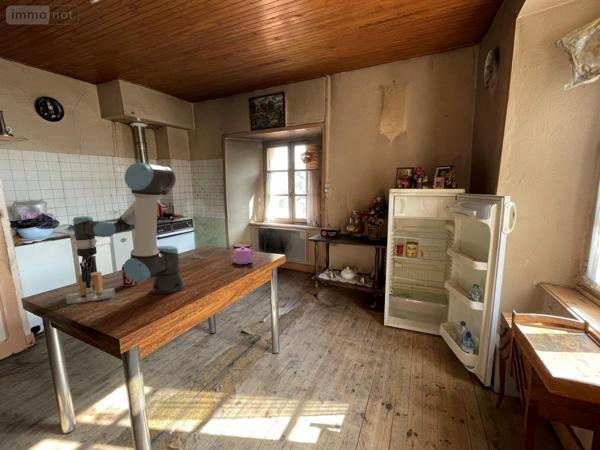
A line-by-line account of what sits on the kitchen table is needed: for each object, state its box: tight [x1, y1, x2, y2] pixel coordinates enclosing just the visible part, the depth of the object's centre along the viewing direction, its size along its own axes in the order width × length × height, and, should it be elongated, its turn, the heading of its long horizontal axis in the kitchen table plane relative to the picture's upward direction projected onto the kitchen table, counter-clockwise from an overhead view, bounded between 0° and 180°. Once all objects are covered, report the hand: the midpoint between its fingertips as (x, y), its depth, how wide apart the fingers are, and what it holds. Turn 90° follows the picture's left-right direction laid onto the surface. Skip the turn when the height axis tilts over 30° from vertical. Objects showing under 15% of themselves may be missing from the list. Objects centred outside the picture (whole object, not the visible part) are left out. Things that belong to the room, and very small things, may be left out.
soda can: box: [121, 263, 139, 287], centre depth 142 cm, size 7×7×12 cm
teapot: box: [232, 246, 255, 265], centre depth 182 cm, size 20×13×12 cm, turn 55°
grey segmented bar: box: [65, 287, 116, 305], centre depth 124 cm, size 18×4×4 cm, turn 112°
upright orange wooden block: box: [77, 271, 104, 296], centre depth 131 cm, size 8×5×10 cm, turn 112°
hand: (92, 291), depth 132 cm, fingers closed on upright orange wooden block, 5 cm apart
